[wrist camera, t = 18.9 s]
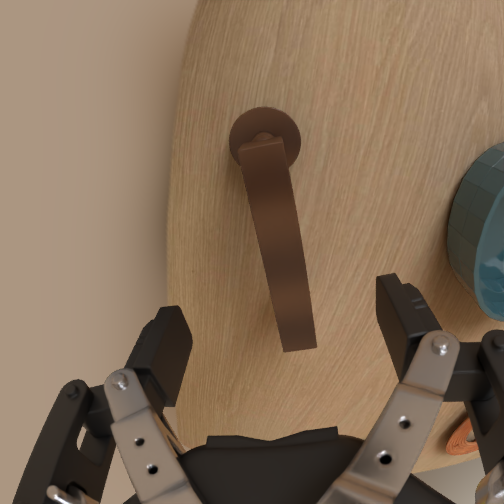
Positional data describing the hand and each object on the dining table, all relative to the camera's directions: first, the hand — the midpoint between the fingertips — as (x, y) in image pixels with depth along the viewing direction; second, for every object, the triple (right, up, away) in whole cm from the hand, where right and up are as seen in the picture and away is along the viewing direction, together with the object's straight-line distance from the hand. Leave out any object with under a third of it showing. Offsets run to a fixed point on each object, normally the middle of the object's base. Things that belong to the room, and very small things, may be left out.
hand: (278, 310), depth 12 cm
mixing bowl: (+26, +6, +12) cm, 29 cm away
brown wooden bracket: (+1, +6, +14) cm, 15 cm away
